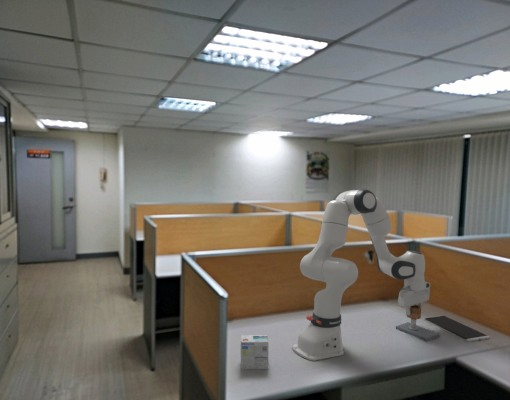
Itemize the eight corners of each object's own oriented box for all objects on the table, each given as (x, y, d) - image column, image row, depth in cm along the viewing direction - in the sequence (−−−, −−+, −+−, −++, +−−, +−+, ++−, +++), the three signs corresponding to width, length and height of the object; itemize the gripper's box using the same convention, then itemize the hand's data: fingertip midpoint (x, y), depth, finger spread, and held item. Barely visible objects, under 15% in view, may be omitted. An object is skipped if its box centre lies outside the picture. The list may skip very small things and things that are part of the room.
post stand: (426, 341, 158) (427, 325, 158) (395, 328, 172) (396, 314, 171) (439, 336, 164) (439, 320, 163) (408, 324, 177) (408, 310, 177)
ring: (415, 320, 165) (415, 309, 165) (404, 315, 170) (404, 305, 170) (423, 317, 168) (423, 307, 168) (411, 313, 174) (411, 303, 173)
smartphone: (468, 343, 158) (468, 339, 158) (422, 320, 184) (422, 317, 184) (490, 340, 162) (490, 336, 162) (443, 318, 188) (443, 314, 187)
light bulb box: (267, 360, 140) (267, 333, 139) (268, 369, 133) (269, 341, 132) (240, 361, 139) (240, 334, 139) (240, 370, 133) (240, 341, 132)
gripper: (407, 289, 160) (406, 319, 161) (432, 283, 171) (431, 311, 172) (394, 286, 166) (394, 315, 166) (420, 279, 177) (419, 307, 177)
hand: (413, 313), depth 169 cm, fingers closed on ring, 6 cm apart
